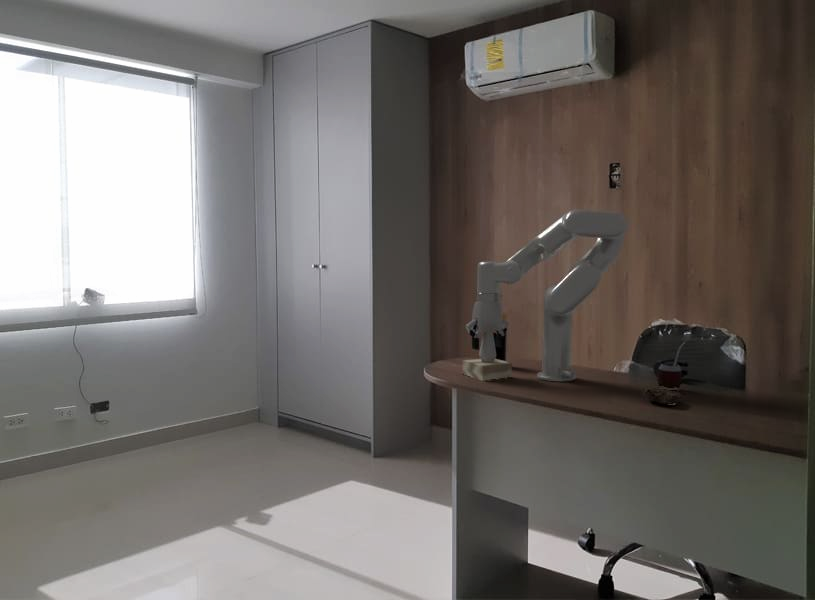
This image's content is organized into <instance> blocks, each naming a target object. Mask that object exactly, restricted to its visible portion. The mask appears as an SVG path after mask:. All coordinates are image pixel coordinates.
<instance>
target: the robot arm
mask: <svg viewBox="0 0 815 600" xmlns="http://www.w3.org/2000/svg"><path fill="white" fill-rule="evenodd" d="M627 230H628V221H627V218H626V217H625V216H624V214H622V213H620V212H617V211H605V210H604V211H603V210H601V211H600V210H587V209H572V210H570V211H568V212H566V213H565V214H563V215H562V216H561V217H559V218H558V219H557V220H556V221H554V222H553V223H552V224H550V225H549V226H548V227H547V228H546V229H544V230H543V231H542V232H540V233H539V234H538V235H537V236H535V237H534V238H533V239H532V240H531V241H530V242H529V243H528V244H526V245H525V246H523V248H522V249H520V250H519V251H517V252H516V253H515V254H514V255H512V256H511V257H510V258H509V259H507V260H506V261H505V262H497V261H479V263H477V277H476V278H477V282H476V285H477V287H476V288H477V290H476V293H477V294H476V301H475V302H474V305H473V308H472V309H473V310H472V316H471V317H472V318H471V321H469V322H468V323H466V324H465V329H466V331H467V334H468V335H469V336H470V338H471V348H472V350H475V351H480V338H479V336H480V334H481V333H484V332H492V331H490V329H491V328H492V327H493V331H495V332H496V334H497V335H496V337H495V346H496V347H499V348H502V344H503V336H504V335H505V332H506V331H507V332H508V328H509V326H510V322H509V321H508V320H507V321H505V320H503V318H502V313H503V307H502V302H500V299H501V298H502V297H503V296H502V294H501V293H500V288H501V287H500V286H501V283H502V284H508V285H515V284H518V283H519V282H520V281H522V280H523V277H524V275H525V274H527V273H528V272H530V271H531V270H532V269H533V268H534V267H536V266H538V265H540V264H541V263H542V262H544V261H546V260H549V259H551V258H553V256H555V255H556V254H558V253H559V252H560V251H561V250H563V249H564V248H565V247H567V246H568V245H569V244H570V243H572V242H573V241H574V240H576V239H577V238H578V237H582V238H583V237H584V238H585V237H586V238H597V239H596V242H595V243H594V244H593V245H592V247H591V248H590V249H589V250H587V252H586V253H585V254H584V255H583V256H582V257H581V258H580V259H579V260H578V261H577V262H575V263H574V264H573V265H572V266H570V268H569V270H568V273H567V275H566V276H565V277H564V278H563V279H561V281H560V282H559V283H558V284H553V285H551V286H549V287H548V288H547V289H546V290H545V292H544V293H543V299H542V309H543V310H542V313H543V319H542V320H543V321H542V322H543V325H542V326H543V327H542V328H543V329H542V359H541V360H542V362H541V363H542V364H541V366H542V367H541V371H540V372H538V373H537V374H536V375H537V376H536V377H537V378H538V379H540V380H542V381H543V380H544V381H549V382H550V381H551V382H571V381H574V380H576V376H578V371H575V370H574V366H573V365H572V349H573V347H572V345H573V343H572V342H573V311H574V310H576V309H577V308H578V307H580V305H582V303H584V301H586V299H587V298H588V297H590V295H591V294H592V293H594V291H595V290H596V289H597V288H598V287H599V285H600V283H601V279H602V274H604V273H605V272H606V271H607V270H608V268H610V266H611V265H612V264H613V263H614V262H615V261H616V260H617V258H618V257H619V256H620V254H621V251H622V250H623V249H622V248H623V244H624V243H623V242H624V237H623V236H624V235H625V233H626V232H627ZM502 324H503V328H502Z"/></svg>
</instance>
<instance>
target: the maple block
mask: <svg viewBox="0 0 815 600" xmlns="http://www.w3.org/2000/svg"><path fill="white" fill-rule="evenodd" d="M461 370H462V374H464V375H463V376H465V375H467V376H466V377H468V376H470V377H469V378H472V379H475V380H479V381H482V382H486V380H487V381H492V380H491V379H496V380H498V379H497V378H505V379H508V378H507V377H512V378H513V363H512V362H510V361H507V360H506V361H502V360H498V359H495V360H494V362H492V363H485V362H482V361H481V358H474V359H463V360H462V369H461Z"/></svg>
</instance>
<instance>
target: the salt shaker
mask: <svg viewBox="0 0 815 600" xmlns="http://www.w3.org/2000/svg"><path fill="white" fill-rule="evenodd" d="M490 331H492V332H483V334H482V339H481V343H480V346H479V353H478V356H479V359H481V361H482V362H485V363H492V362H494V360H495V358H496V349H495V343H494V336H493V327H492V328H491V329H490Z"/></svg>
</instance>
